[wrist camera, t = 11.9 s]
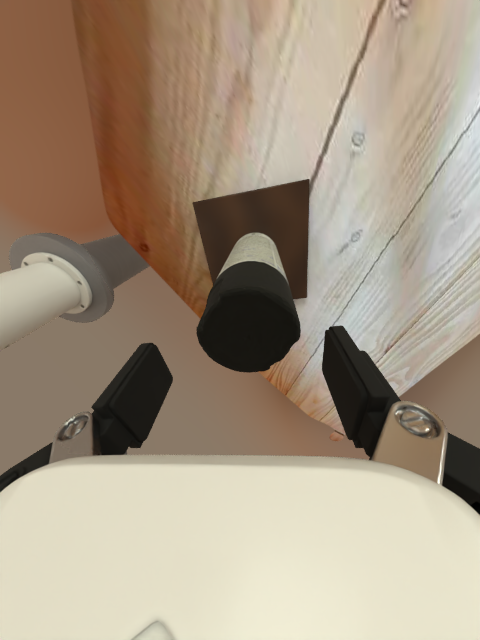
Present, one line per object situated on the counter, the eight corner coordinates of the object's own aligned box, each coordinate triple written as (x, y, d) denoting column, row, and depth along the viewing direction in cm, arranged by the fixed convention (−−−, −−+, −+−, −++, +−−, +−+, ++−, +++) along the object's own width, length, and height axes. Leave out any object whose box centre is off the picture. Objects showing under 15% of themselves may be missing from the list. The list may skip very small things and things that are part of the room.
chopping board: (220, 303, 35) (218, 307, 34) (195, 202, 27) (192, 202, 25) (305, 293, 33) (306, 297, 31) (306, 179, 24) (309, 178, 23)
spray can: (224, 261, 29) (177, 348, 13) (249, 220, 26) (228, 263, 9) (259, 284, 31) (259, 389, 14) (287, 248, 27) (329, 329, 11)
